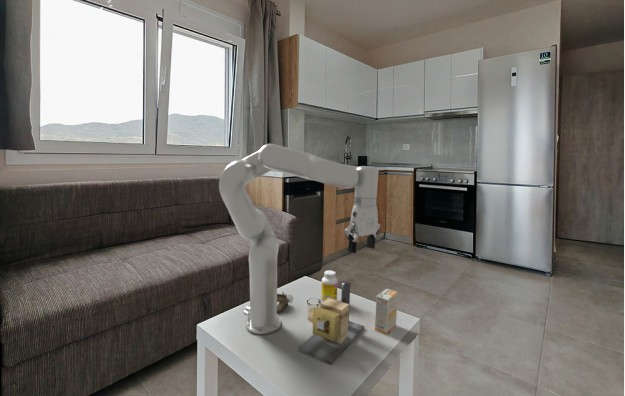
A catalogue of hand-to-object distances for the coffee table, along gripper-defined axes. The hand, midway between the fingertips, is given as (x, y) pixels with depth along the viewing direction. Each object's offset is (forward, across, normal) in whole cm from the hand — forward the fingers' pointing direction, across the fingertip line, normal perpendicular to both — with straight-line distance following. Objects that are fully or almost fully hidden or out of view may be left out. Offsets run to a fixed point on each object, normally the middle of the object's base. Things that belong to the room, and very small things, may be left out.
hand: (361, 249), depth 114 cm
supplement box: (+28, +7, -8) cm, 30 cm away
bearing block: (+29, -12, -1) cm, 31 cm away
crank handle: (+26, -12, -1) cm, 29 cm away
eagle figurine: (+30, -15, +27) cm, 43 cm away
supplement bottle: (+29, +5, +20) cm, 36 cm away
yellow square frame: (+25, -18, -3) cm, 31 cm away
